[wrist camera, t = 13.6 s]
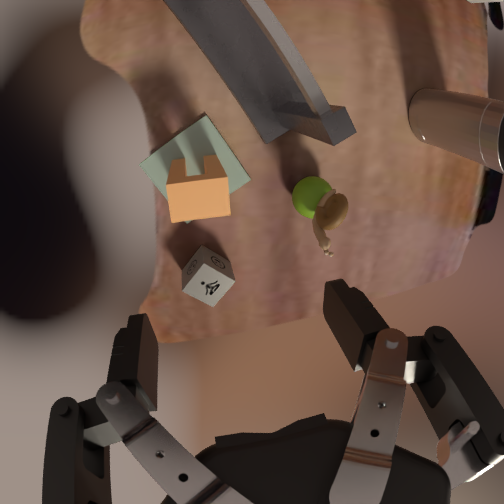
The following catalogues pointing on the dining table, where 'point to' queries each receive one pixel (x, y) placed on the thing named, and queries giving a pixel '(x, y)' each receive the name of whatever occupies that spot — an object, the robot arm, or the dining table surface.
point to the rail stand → (262, 68)
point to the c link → (197, 191)
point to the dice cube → (207, 276)
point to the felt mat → (194, 156)
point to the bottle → (480, 0)
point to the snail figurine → (320, 207)
